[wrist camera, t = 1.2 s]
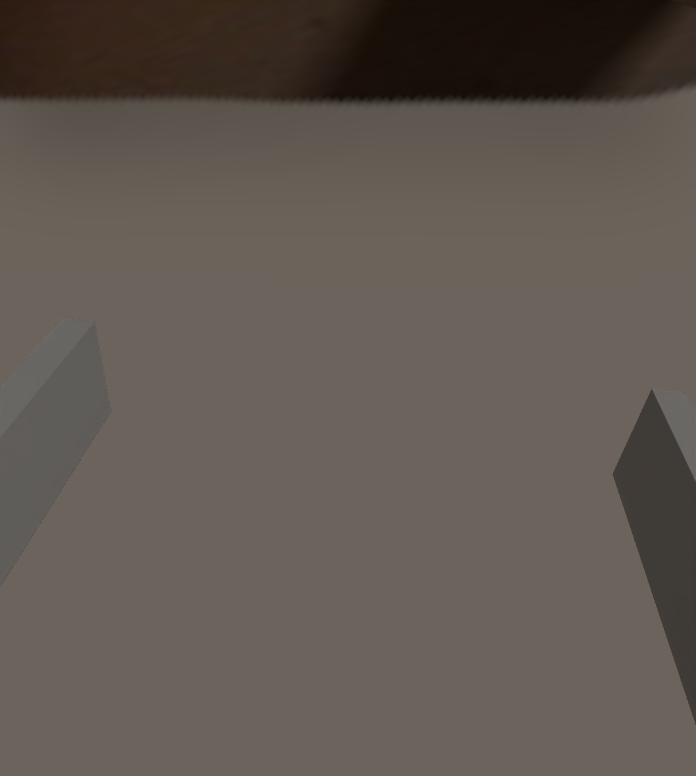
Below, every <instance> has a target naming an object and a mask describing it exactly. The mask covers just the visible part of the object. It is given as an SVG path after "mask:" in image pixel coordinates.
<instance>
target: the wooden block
mask: <svg viewBox="0 0 696 776" xmlns="http://www.w3.org/2000/svg"><path fill="white" fill-rule="evenodd" d="M670 1H674V2H677V3H680V4H683V5H687V6H690V7H693V8H696V0H670Z"/></svg>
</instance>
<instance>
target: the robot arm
mask: <svg viewBox="0 0 696 776" xmlns="http://www.w3.org/2000/svg"><path fill="white" fill-rule="evenodd" d="M110 412H111V406H110V401H109V396H108V390H107V385H106V380H105V374H104V369H103V363H102V358H101V353H100V347H99V342H98V337H97V332H96V326H95V321H89V320H81V319H73V318H65V317H63V318H62V319H61V320H60V321H59V322H58V324H57V325H56V326H55V327H54V328H53V329H52V330H51V332H49V334H48V335H47V336H46V337H45V338H44V339H43V340H42V341H41V342H40V344H39V345H38V346H37V347H36V348H35V349H34V350H33V351H32V353H31V354H30V355H29V356H28V357H27V358H26V359H25V360H24V362H23V363H22V364H21V365H20V366H19V367H18V368H17V369H16V371H14V373H13V374H12V375H11V376H10V377H9V378H8V379H7V380H6V382H5V383H4V384H3V385H2V386H1V387H0V586H1V585H2V583H3V582H4V580H5V579H6V577H7V575H8V574H9V572H10V571H11V569H12V568H13V566H14V564H15V563H16V561H17V560H18V558H19V556H20V555H21V553H22V552H23V550H24V548H25V547H26V545H27V543H28V542H29V541H30V539H31V537H32V536H33V534H34V533H35V531H36V530H37V528H38V526H39V524H40V523H41V522H42V520H43V518H44V517H45V515H46V514H47V512H48V511H49V509H50V507H51V506H52V504H53V503H54V501H55V499H56V498H57V496H58V495H59V493H60V492H61V490H62V488H63V487H64V485H65V484H66V482H67V480H68V479H69V477H70V476H71V474H72V473H73V471H74V469H75V468H76V466H77V465H78V463H79V461H80V460H81V458H82V457H83V455H84V454H85V452H86V450H87V449H88V447H89V446H90V444H91V442H92V441H93V439H94V437H95V436H96V435H97V433H98V431H99V430H100V428H101V427H102V425H103V423H104V422H105V420H106V419H107V417H108V416H109V414H110ZM613 476H614V480H615V482H616V486H617V488H618V492H619V494H620V498H621V501H622V503H623V506H624V510H625V513H626V515H627V519H628V522H629V525H630V528H631V531H632V534H633V537H634V540H635V543H636V546H637V549H638V552H639V555H640V558H641V561H642V564H643V567H644V570H645V573H646V576H647V579H648V582H649V585H650V588H651V591H652V594H653V597H654V600H655V603H656V606H657V609H658V612H659V615H660V618H661V621H662V624H663V627H664V630H665V633H666V636H667V639H668V642H669V645H670V648H671V652H672V655H673V657H674V660H675V663H676V666H677V669H678V673H679V676H680V679H681V682H682V685H683V688H684V691H685V694H686V696H687V700H688V702H689V706H690V709H691V712H692V715H693V718H694V721H695V724H696V412H695V410H694V408H693V406H692V405H691V403H690V400H689V399H688V397H687V395H686V393H684V392H675V391H667V390H658V389H652V390H651V392H650V394H649V396H648V398H647V400H646V402H645V405H644V407H643V409H642V412H641V413H640V416H639V418H638V420H637V422H636V424H635V427H634V429H633V431H632V433H631V435H630V437H629V439H628V442H627V444H626V446H625V448H624V450H623V453H622V455H621V457H620V459H619V461H618V463H617V466H616V468H615V470H614V472H613Z"/></svg>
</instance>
